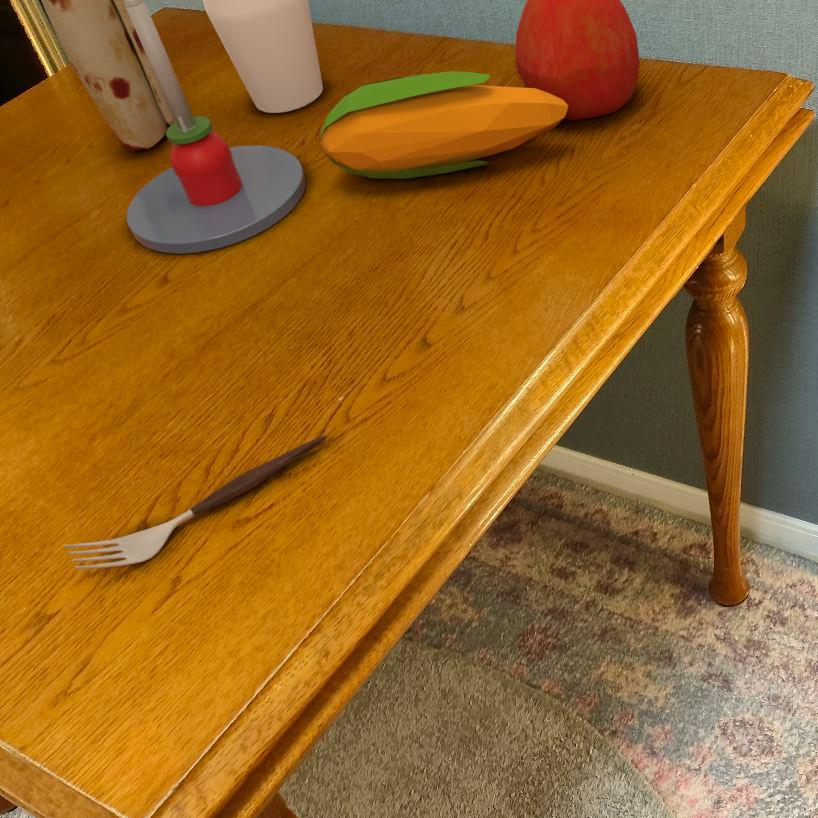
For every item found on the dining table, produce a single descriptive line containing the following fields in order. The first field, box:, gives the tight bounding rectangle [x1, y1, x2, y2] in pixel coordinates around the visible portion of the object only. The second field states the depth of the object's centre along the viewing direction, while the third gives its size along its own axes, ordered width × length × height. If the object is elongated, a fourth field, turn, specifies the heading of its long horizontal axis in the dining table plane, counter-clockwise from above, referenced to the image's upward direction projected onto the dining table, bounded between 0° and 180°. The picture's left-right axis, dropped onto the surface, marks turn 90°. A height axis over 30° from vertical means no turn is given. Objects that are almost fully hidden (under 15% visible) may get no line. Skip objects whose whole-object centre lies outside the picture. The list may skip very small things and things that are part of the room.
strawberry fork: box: [124, 0, 242, 206], centre depth 77 cm, size 5×5×16 cm
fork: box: [64, 435, 328, 570], centre depth 59 cm, size 3×16×2 cm, turn 125°
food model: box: [40, 0, 176, 152], centre depth 87 cm, size 10×7×20 cm
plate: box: [126, 144, 307, 255], centre depth 84 cm, size 15×15×1 cm
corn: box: [319, 70, 568, 180], centre depth 79 cm, size 7×8×20 cm
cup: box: [202, 0, 324, 114], centre depth 91 cm, size 9×9×12 cm
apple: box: [514, 0, 641, 121], centre depth 82 cm, size 10×10×10 cm
